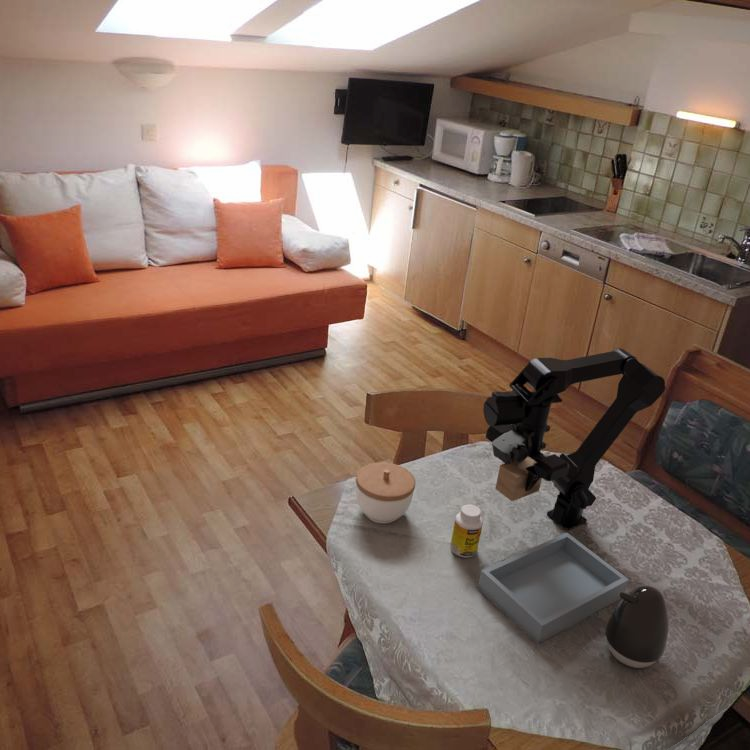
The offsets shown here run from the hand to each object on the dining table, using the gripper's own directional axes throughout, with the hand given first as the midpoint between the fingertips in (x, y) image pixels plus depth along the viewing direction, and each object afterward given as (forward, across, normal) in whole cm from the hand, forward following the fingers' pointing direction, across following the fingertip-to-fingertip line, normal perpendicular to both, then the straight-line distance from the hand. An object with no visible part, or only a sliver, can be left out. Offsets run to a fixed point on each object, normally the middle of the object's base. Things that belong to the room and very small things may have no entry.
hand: (518, 483), depth 159 cm
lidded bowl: (+12, -17, -22) cm, 30 cm away
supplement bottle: (+12, +1, -14) cm, 18 cm away
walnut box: (+2, 0, 0) cm, 2 cm away
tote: (+11, +19, -7) cm, 23 cm away
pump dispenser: (+12, +37, -6) cm, 39 cm away
